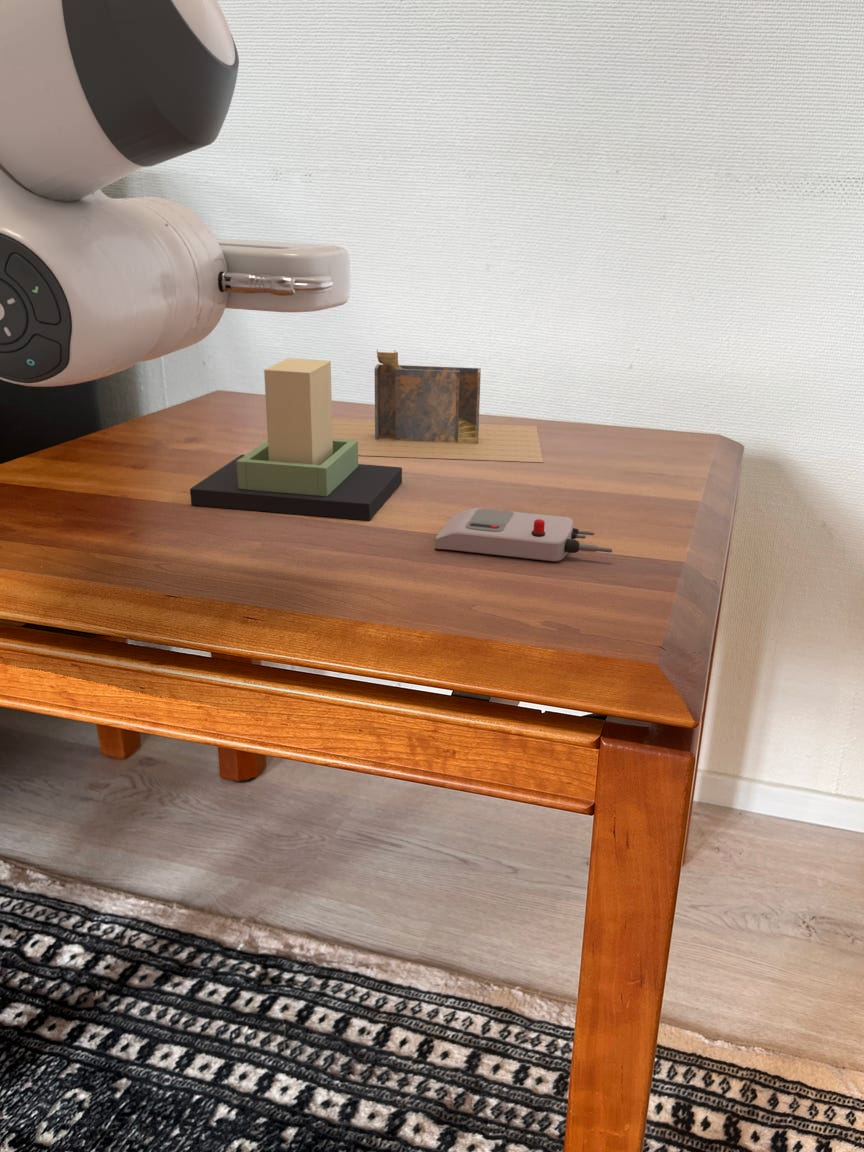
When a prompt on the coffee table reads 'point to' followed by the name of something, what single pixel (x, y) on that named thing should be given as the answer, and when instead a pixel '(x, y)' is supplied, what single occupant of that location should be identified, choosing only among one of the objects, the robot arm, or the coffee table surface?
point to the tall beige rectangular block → (299, 411)
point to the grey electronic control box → (513, 535)
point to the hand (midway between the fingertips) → (235, 260)
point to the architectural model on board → (434, 418)
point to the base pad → (301, 485)
